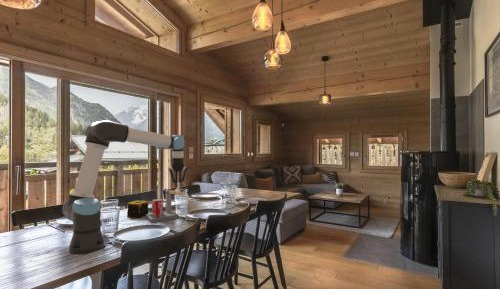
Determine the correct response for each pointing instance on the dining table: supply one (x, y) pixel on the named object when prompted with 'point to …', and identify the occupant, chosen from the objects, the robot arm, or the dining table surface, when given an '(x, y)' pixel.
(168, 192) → the clip
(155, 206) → the soda can
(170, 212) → the gray post stand
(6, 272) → the dining table surface
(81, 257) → the dining table surface
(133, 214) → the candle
